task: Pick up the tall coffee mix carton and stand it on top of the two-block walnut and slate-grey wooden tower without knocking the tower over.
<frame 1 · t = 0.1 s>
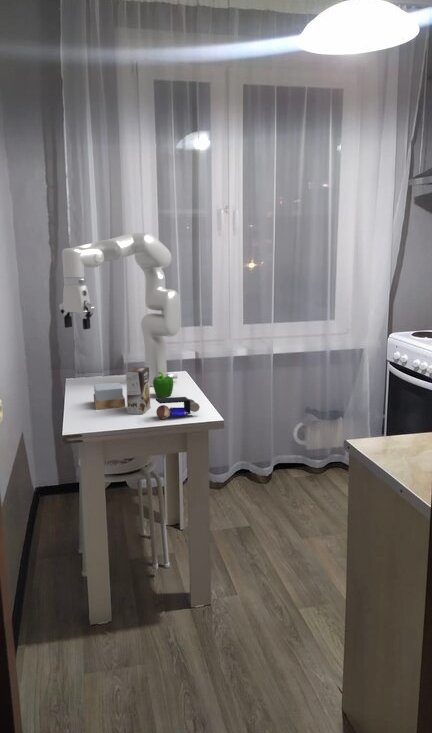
hand: (77, 328, 217), 31 cm above the table, tool pointing down, fingers open, 9 cm apart
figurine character: (177, 417, 211), on the table
tower top block: (108, 396, 227), point 3 cm above the table
tower base block: (109, 406, 228), on the table
bell pepper: (163, 396, 240), on the table
coffee box: (139, 411, 219), on the table
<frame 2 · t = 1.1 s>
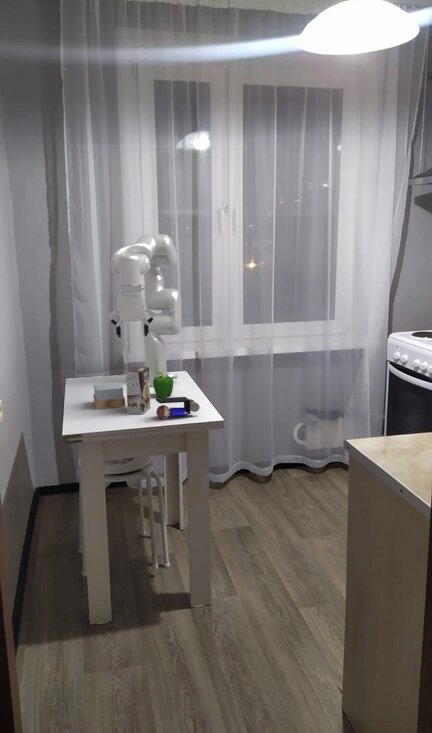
hand: (132, 336, 213), 28 cm above the table, tool pointing down, fingers open, 9 cm apart
tower top block: (108, 396, 227), point 4 cm above the table, touching tower base block
tower base block: (109, 405, 228), on the table, touching tower top block
everything else where it was.
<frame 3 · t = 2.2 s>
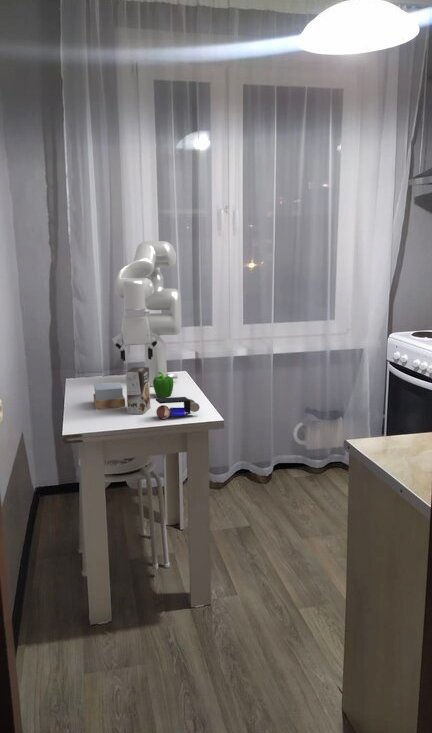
hand: (136, 359, 215), 20 cm above the table, tool pointing down, fingers open, 9 cm apart
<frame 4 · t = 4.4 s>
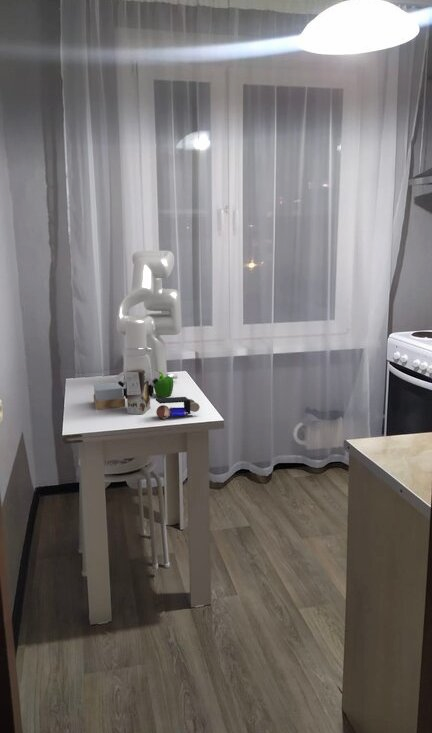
hand: (138, 396, 218), 5 cm above the table, tool pointing down, fingers closed on coffee box, 8 cm apart
coffee box: (139, 411, 219), on the table, touching gripper
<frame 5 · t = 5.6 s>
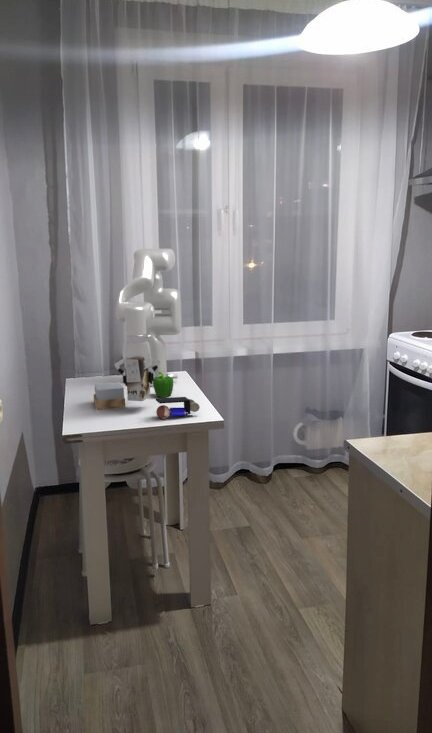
hand: (138, 383, 218), 10 cm above the table, tool pointing down, fingers closed on coffee box, 8 cm apart
coffee box: (139, 398, 219), point 5 cm above the table, touching gripper
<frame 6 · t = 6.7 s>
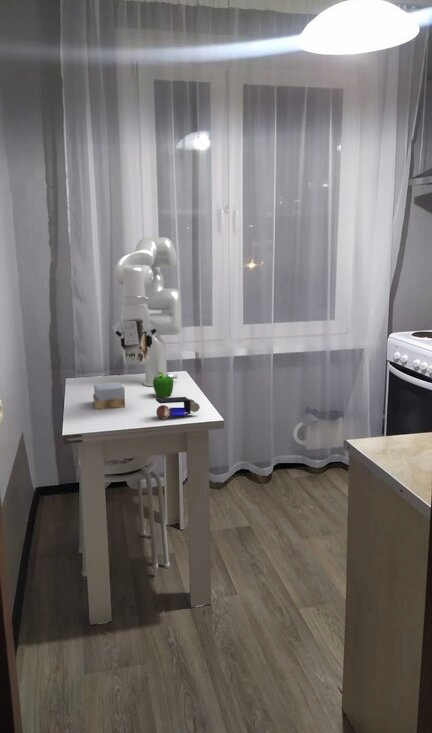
hand: (136, 347, 214), 24 cm above the table, tool pointing down, fingers closed on coffee box, 8 cm apart
tower top block: (109, 396, 227), point 3 cm above the table
tower base block: (109, 406, 227), on the table
coffee box: (137, 362, 216), point 19 cm above the table, touching gripper
everything else where it was.
when the fingers open (14 cm above the table, at t = 11.0 s): coffee box drops 1 cm, resting on tower top block.
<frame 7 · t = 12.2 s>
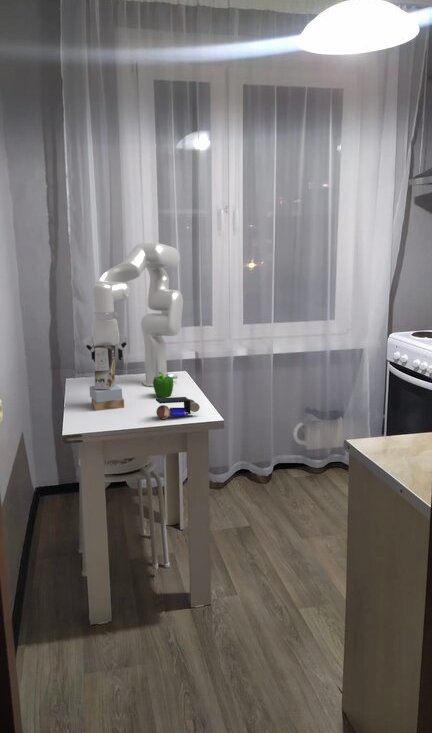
hand: (107, 360, 224), 18 cm above the table, tool pointing down, fingers open, 9 cm apart
tower top block: (105, 397, 226), point 3 cm above the table, touching coffee box, tower base block
tower base block: (107, 407, 227), on the table, touching tower top block
coffee box: (104, 387, 225), point 7 cm above the table, touching tower top block
everything else where it was.
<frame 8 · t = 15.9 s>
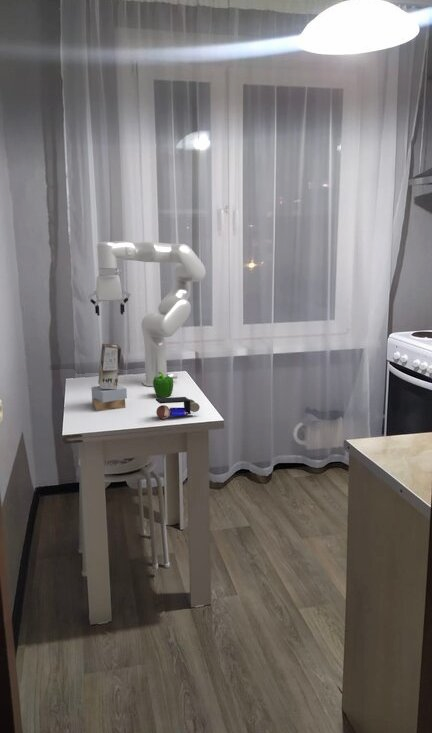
hand: (110, 314, 239), 33 cm above the table, tool pointing down, fingers open, 9 cm apart
tower top block: (109, 397, 225), point 3 cm above the table, touching tower base block
coffee box: (107, 386, 224), point 8 cm above the table
everything else where it was.
at the end: coffee box 0.4 cm off-centre on the tower top block, point 4.3 cm above the tower top block's base; tower top block 0.9 cm off-centre on the tower base block, point 4.0 cm above the tower base block's base; coffee box tilted 8° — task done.
